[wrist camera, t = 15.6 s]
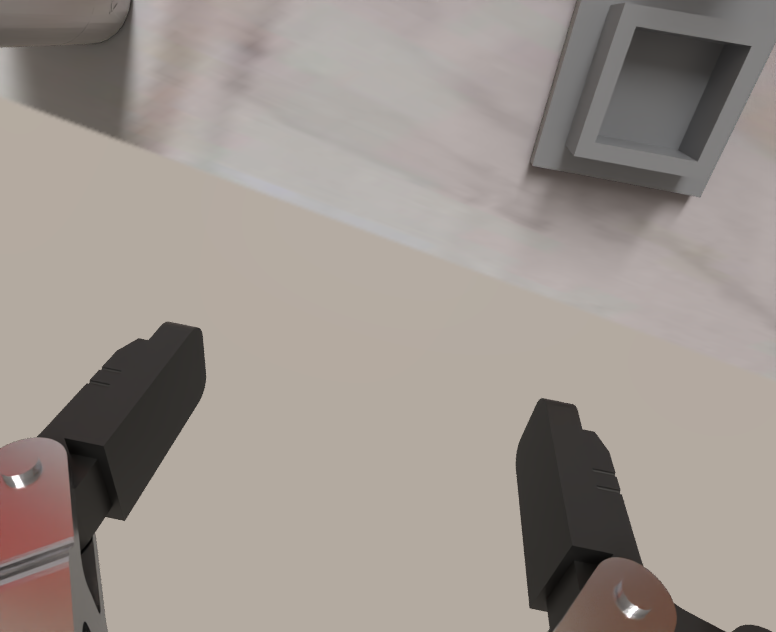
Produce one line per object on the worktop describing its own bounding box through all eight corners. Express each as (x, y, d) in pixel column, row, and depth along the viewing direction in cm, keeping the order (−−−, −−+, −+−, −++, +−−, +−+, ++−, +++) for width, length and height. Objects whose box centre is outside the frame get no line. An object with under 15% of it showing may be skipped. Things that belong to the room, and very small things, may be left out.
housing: (530, 160, 37) (537, 178, 33) (586, -33, 31) (605, -43, 27) (692, 191, 37) (721, 213, 32) (783, 0, 30) (833, -5, 26)
